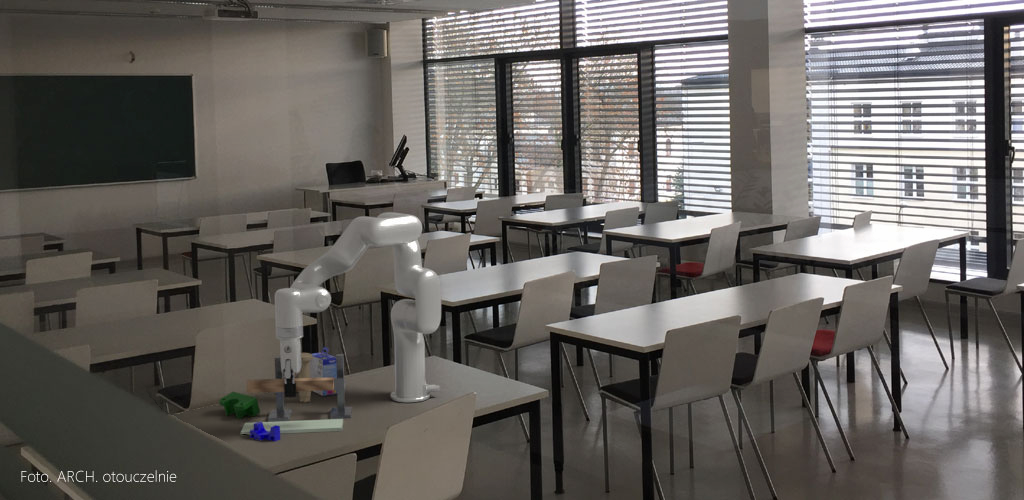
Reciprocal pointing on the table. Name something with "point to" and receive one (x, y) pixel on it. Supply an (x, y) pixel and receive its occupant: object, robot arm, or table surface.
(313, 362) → the ink cartridge box
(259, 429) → the cable holder
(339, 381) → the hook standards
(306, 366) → the handle
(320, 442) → the table surface
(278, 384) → the rail
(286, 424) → the board
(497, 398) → the table surface
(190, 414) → the table surface
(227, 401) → the clamp
